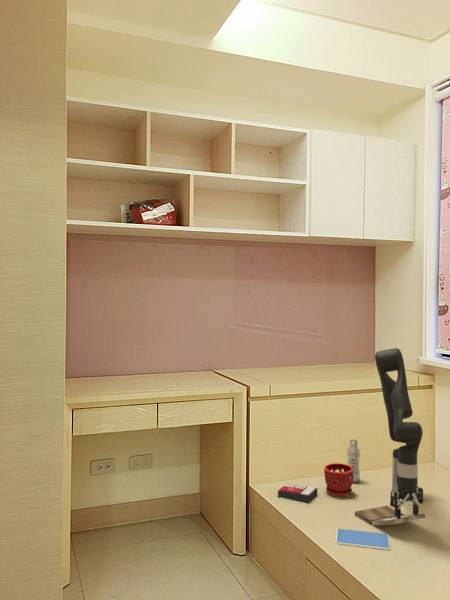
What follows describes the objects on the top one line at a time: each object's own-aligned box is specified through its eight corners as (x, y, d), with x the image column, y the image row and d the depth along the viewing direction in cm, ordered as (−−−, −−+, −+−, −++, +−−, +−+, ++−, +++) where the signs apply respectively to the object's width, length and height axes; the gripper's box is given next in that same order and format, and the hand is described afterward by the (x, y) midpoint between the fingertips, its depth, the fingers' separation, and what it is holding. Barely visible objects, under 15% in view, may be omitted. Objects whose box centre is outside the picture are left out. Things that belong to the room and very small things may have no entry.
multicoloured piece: (286, 481, 250) (317, 486, 242) (287, 491, 249) (317, 495, 242) (277, 489, 240) (309, 494, 233) (277, 498, 240) (309, 504, 233)
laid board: (387, 508, 228) (387, 505, 228) (403, 518, 219) (404, 514, 219) (354, 515, 221) (354, 511, 221) (370, 524, 212) (370, 520, 212)
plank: (405, 518, 218) (404, 514, 218) (425, 517, 208) (424, 513, 208) (372, 525, 211) (371, 521, 211) (392, 524, 201) (391, 520, 201)
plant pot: (328, 486, 254) (328, 461, 254) (355, 491, 248) (356, 465, 248) (320, 495, 242) (320, 469, 242) (349, 500, 237) (349, 473, 236)
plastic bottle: (352, 484, 256) (353, 443, 256) (343, 480, 262) (344, 439, 262) (363, 482, 259) (363, 441, 259) (353, 478, 265) (354, 438, 265)
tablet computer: (335, 545, 195) (335, 541, 195) (336, 530, 207) (336, 527, 207) (390, 552, 190) (390, 548, 190) (388, 536, 203) (388, 533, 203)
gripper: (414, 469, 212) (413, 510, 211) (385, 473, 206) (385, 515, 206) (428, 475, 205) (428, 517, 205) (399, 479, 199) (399, 523, 199)
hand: (406, 516), depth 205 cm, fingers open, 8 cm apart
